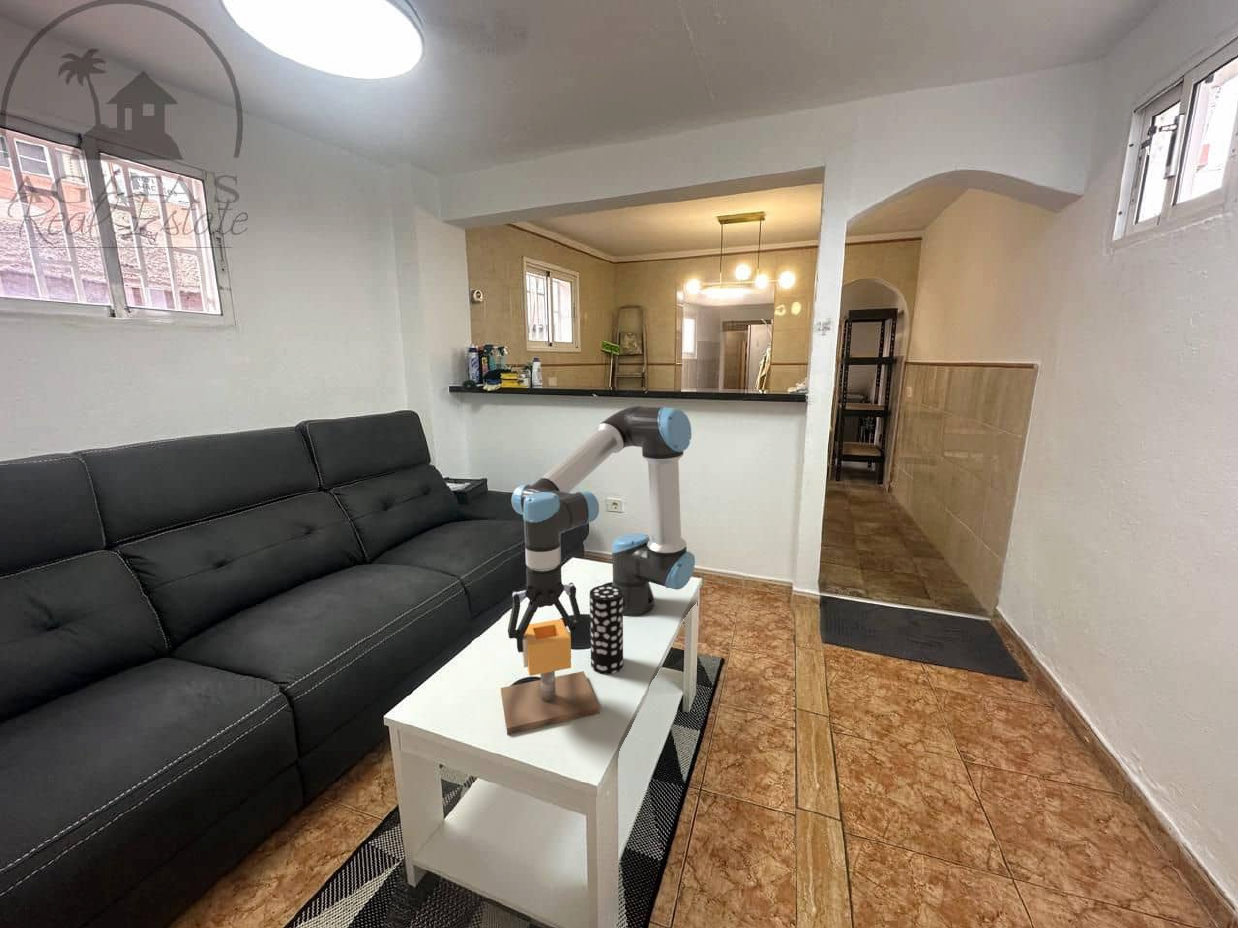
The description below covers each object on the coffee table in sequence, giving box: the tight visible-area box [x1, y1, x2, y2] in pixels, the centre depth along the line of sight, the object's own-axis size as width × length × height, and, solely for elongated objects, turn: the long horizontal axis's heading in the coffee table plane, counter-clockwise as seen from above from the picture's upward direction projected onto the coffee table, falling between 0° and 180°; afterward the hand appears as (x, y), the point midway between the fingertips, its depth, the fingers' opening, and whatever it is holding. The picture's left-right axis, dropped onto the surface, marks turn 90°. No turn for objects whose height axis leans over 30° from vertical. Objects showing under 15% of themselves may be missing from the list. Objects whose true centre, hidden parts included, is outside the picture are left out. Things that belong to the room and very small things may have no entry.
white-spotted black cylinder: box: [589, 584, 624, 675], centre depth 124 cm, size 8×8×20 cm
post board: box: [500, 671, 600, 736], centre depth 110 cm, size 20×14×11 cm
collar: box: [525, 618, 572, 677], centre depth 109 cm, size 9×9×7 cm
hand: (546, 659), depth 109 cm, fingers closed on collar, 9 cm apart
